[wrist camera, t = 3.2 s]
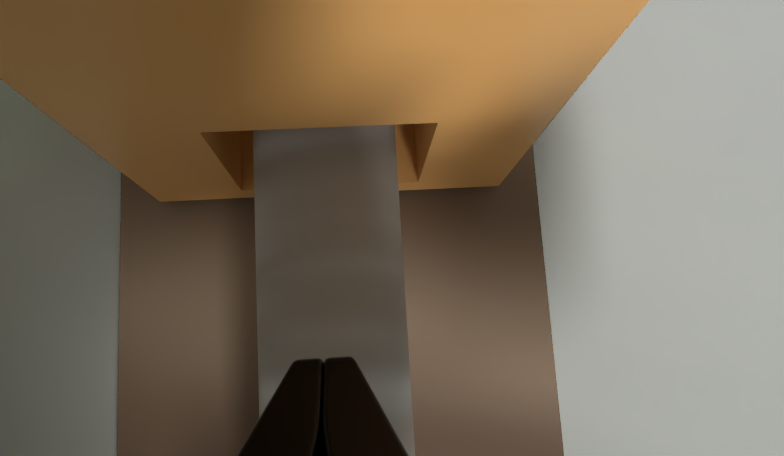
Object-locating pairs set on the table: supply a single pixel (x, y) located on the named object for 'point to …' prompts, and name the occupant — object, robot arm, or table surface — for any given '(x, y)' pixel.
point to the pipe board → (443, 323)
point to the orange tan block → (303, 79)
